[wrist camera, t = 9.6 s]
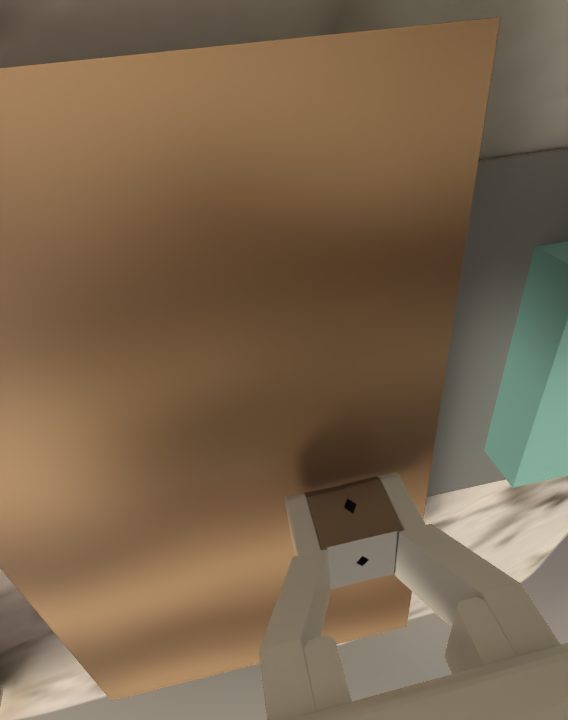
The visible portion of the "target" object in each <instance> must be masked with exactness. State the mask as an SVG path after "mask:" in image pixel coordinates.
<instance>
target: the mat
mask: <svg viewBox="0 0 568 720" xmlns="http://www.w3.org/2000/svg"><path fill="white" fill-rule="evenodd" d="M567 241H568V148H562V149H555V150H547V151H540V152H533V153H526V154H518V155H511V156H504V157H497V158H489V159H482V160H478V166H477V172H476V179H475V185H474V192H473V198H472V205H471V211H470V218H469V224H468V231H467V237H466V244H465V250H464V257H463V263H462V270H461V276H460V283H459V289H458V295H457V302H456V308H455V315H454V321H453V328H452V334H451V341H450V347H449V354H448V360H447V367H446V373H445V380H444V386H443V393H442V399H441V406H440V412H439V419H438V425H437V432H436V438H435V444H434V451H433V457H432V464H431V470H430V477H429V483H428V490H427V496H426V497H428V496H432V495H437V494H441V493H446V492H451V491H455V490H460V489H464V488H469V487H473V486H478V485H482V484H487V483H491V482H496V481H500V480H505V479H506V478H505V477H504V476H503V475H502V473H501V472H500V471H499V469H498V468H497V467H496V466H495V464H494V463H493V462H492V460H491V459H490V458H489V457H488V455H487V454H486V453H485V451H484V448H485V444H486V440H487V436H488V432H489V428H490V424H491V420H492V416H493V412H494V408H495V404H496V400H497V396H498V392H499V388H500V384H501V380H502V376H503V372H504V368H505V364H506V360H507V356H508V352H509V348H510V344H511V340H512V336H513V332H514V328H515V324H516V320H517V316H518V312H519V308H520V304H521V300H522V296H523V292H524V288H525V284H526V280H527V276H528V272H529V268H530V264H531V260H532V256H533V252H534V248H535V247H536V246H542V245H548V244H555V243H561V242H567Z"/></svg>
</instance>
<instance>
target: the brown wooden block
mask: <svg viewBox="0 0 568 720" xmlns="http://www.w3.org/2000/svg"><path fill="white" fill-rule="evenodd" d="M499 23H500V17H496V18H486V19H477V20H467V21H457V22H447V23H438V24H428V25H418V26H408V27H399V28H389V29H379V30H369V31H359V32H350V33H340V34H330V35H320V36H311V37H301V38H291V39H281V40H272V41H262V42H252V43H242V44H233V45H223V46H213V47H203V48H193V49H184V50H174V51H164V52H154V53H145V54H135V55H125V56H115V57H106V58H96V59H86V60H76V61H67V62H57V63H47V64H37V65H27V66H18V67H8V68H0V568H1V569H2V571H3V572H4V573H5V574H6V575H7V577H8V578H9V579H10V580H11V581H12V583H13V584H14V585H15V586H16V587H17V589H18V590H19V591H20V592H21V593H22V595H23V596H24V597H25V598H26V599H27V601H28V602H29V603H30V604H31V605H32V607H33V608H34V609H35V610H36V611H37V612H38V614H39V615H40V616H41V617H42V618H43V620H44V621H45V622H46V623H47V624H48V626H49V627H50V628H51V629H52V630H53V632H54V633H55V634H56V635H57V636H58V638H59V639H60V640H61V641H62V642H63V644H64V645H65V646H66V647H67V648H68V650H69V651H70V652H71V653H72V654H73V656H74V657H75V658H76V659H77V660H78V662H79V663H80V664H81V665H82V666H83V668H84V669H85V670H86V671H87V672H88V674H89V675H90V676H91V677H92V678H93V680H94V681H95V682H96V683H97V684H98V685H99V687H100V688H101V689H102V690H103V691H104V693H105V694H106V695H107V696H108V697H109V699H110V700H111V701H113V700H117V699H121V698H125V697H129V696H133V695H137V694H141V693H145V692H149V691H152V690H156V689H161V688H165V687H169V686H173V685H177V684H180V683H184V682H188V681H192V680H196V679H200V678H204V677H208V676H212V675H216V674H220V673H224V672H228V671H231V670H236V669H240V668H244V667H248V666H252V665H255V664H260V656H259V649H260V646H261V643H262V641H263V638H264V635H265V632H266V630H267V627H268V624H269V621H270V619H271V616H272V613H273V610H274V608H275V605H276V602H277V599H278V597H279V594H280V591H281V588H282V586H283V583H284V580H285V577H286V575H287V572H288V569H289V566H290V564H291V561H292V558H293V557H295V552H294V548H293V544H292V539H291V533H290V528H289V522H288V515H287V509H286V502H285V497H287V496H291V495H296V494H300V493H305V492H310V491H315V490H320V489H325V488H330V487H336V486H340V485H341V484H346V483H350V482H354V481H358V480H362V479H366V478H370V477H375V476H376V477H378V476H382V475H386V474H390V473H394V472H396V473H397V474H398V475H399V476H400V478H401V479H402V481H403V483H404V485H405V487H406V489H407V491H408V493H409V494H410V496H411V498H412V500H413V502H414V504H415V506H416V508H417V509H418V511H419V513H420V515H421V517H422V519H423V516H424V509H425V503H426V496H427V490H428V483H429V477H430V470H431V464H432V457H433V451H434V444H435V438H436V432H437V425H438V419H439V412H440V406H441V399H442V393H443V386H444V380H445V373H446V367H447V360H448V354H449V347H450V341H451V334H452V328H453V321H454V315H455V308H456V302H457V295H458V289H459V283H460V276H461V270H462V263H463V257H464V250H465V244H466V237H467V231H468V224H469V218H470V211H471V205H472V198H473V192H474V185H475V179H476V172H477V166H478V159H479V153H480V147H481V140H482V134H483V127H484V121H485V114H486V108H487V101H488V95H489V88H490V82H491V75H492V69H493V62H494V56H495V49H496V43H497V36H498V30H499ZM411 593H412V591H411V590H410V589H409V588H408V587H407V586H406V585H405V584H403V583H402V582H401V581H400V580H399V579H398V578H397V577H396V576H395V574H393V575H388V576H383V577H379V578H374V579H370V580H365V581H361V582H357V583H354V584H350V585H346V586H343V587H339V588H336V589H332V590H331V595H330V599H329V603H328V607H327V611H326V615H325V620H324V624H323V628H322V632H321V636H320V637H322V636H326V635H327V636H329V637H331V638H332V639H334V640H335V642H336V644H339V643H343V642H347V641H351V640H355V639H359V638H363V637H367V636H371V635H374V634H378V633H382V632H386V631H390V630H394V629H398V628H402V627H406V626H407V619H408V613H409V606H410V600H411Z"/></svg>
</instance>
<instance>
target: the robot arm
mask: <svg viewBox="0 0 568 720" xmlns="http://www.w3.org/2000/svg"><path fill="white" fill-rule="evenodd" d="M285 502H286V509H287V515H288V522H289V528H290V533H291V539H292V544H293V548H294V552H295V557H293V558H292V561H291V564H290V566H289V569H288V572H287V575H286V577H285V580H284V583H283V586H282V588H281V591H280V594H279V597H278V599H277V602H276V605H275V608H274V610H273V613H272V616H271V619H270V621H269V624H268V627H267V630H266V632H265V635H264V638H263V641H262V643H261V646H260V649H259V656H260V664H261V672H262V680H263V688H264V697H265V705H266V713H267V720H568V643H565V644H561V645H560V643H559V642H558V640H557V638H556V637H555V635H554V634H553V632H552V631H551V629H550V628H549V626H548V625H547V623H546V622H545V620H544V618H543V617H542V615H541V614H540V612H539V611H538V609H537V608H536V606H535V605H534V603H533V602H532V600H531V598H530V597H529V595H528V594H527V592H526V591H525V589H524V588H523V586H522V585H521V584H520V583H519V582H517V581H516V580H514V579H513V578H511V577H510V576H508V575H507V574H505V573H504V572H502V571H501V570H499V569H498V568H496V567H495V566H493V565H492V564H490V563H489V562H487V561H486V560H484V559H483V558H481V557H480V556H478V555H477V554H475V553H474V552H472V551H471V550H469V549H468V548H466V547H465V546H464V545H462V544H461V543H459V542H458V541H456V540H455V539H453V538H452V537H450V536H449V535H447V534H446V533H444V532H443V531H441V530H440V529H438V528H437V527H435V526H434V525H432V524H429V525H425V523H424V521H423V519H422V517H421V515H420V513H419V511H418V509H417V508H416V506H415V504H414V502H413V500H412V498H411V496H410V494H409V493H408V491H407V489H406V487H405V485H404V483H403V481H402V479H401V478H400V476H399V475H398V474H397V473H396V472H394V473H390V474H386V475H382V476H378V477H376V476H375V477H370V478H366V479H362V480H358V481H354V482H350V483H346V484H341V485H340V486H336V487H330V488H325V489H320V490H315V491H310V492H305V493H300V494H296V495H291V496H287V497H285ZM393 574H395V576H396V577H397V578H398V579H399V580H400V581H401V582H402V583H403V584H405V585H406V586H407V587H408V588H409V589H410V590H411V591H412V592H413V593H414V594H415V595H417V596H418V597H419V598H420V599H421V600H422V601H423V602H424V603H425V604H426V605H427V606H428V607H430V608H431V609H432V610H433V611H434V612H435V613H436V614H437V615H438V616H439V617H440V618H442V619H443V620H444V621H445V622H446V623H447V624H448V625H449V626H450V627H451V628H452V629H451V633H450V637H449V640H448V644H447V648H446V652H445V655H444V657H445V659H446V662H447V664H448V666H449V668H450V671H451V673H452V674H451V675H448V676H444V677H441V678H437V679H433V680H430V681H426V682H423V683H419V684H415V685H411V686H408V687H404V688H400V689H397V690H393V691H389V692H386V693H382V694H379V695H375V696H371V697H368V698H364V699H361V700H357V701H353V702H352V701H351V697H350V693H349V690H348V686H347V682H346V679H345V675H344V672H343V668H342V664H341V660H340V657H339V653H338V649H337V646H336V642H335V640H334V639H332V638H331V637H329V636H327V635H326V636H322V637H320V636H321V632H322V628H323V624H324V620H325V615H326V611H327V607H328V603H329V599H330V595H331V590H332V589H336V588H339V587H343V586H346V585H350V584H354V583H357V582H361V581H365V580H370V579H374V578H379V577H383V576H388V575H393Z"/></svg>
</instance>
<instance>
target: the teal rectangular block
mask: <svg viewBox="0 0 568 720" xmlns="http://www.w3.org/2000/svg"><path fill="white" fill-rule="evenodd" d="M484 451H485V453H486V454H487V455H488V457H489V458H490V459H491V460H492V462H493V463H494V464H495V466H496V467H497V468H498V469H499V471H500V472H501V473H502V475H503V476H504V477H505V478H506V480H507V481H508V482H509V484H510V485H511V486H512V487H518V486H522V485H527V484H531V483H536V482H540V481H545V480H549V479H553V478H558V477H562V476H567V475H568V241H567V242H561V243H555V244H548V245H542V246H536V247H535V248H534V252H533V256H532V260H531V264H530V268H529V272H528V276H527V280H526V284H525V288H524V292H523V296H522V300H521V304H520V308H519V312H518V316H517V320H516V324H515V328H514V332H513V336H512V340H511V344H510V348H509V352H508V356H507V360H506V364H505V368H504V372H503V376H502V380H501V384H500V388H499V392H498V396H497V400H496V404H495V408H494V412H493V416H492V420H491V424H490V428H489V432H488V436H487V440H486V444H485V448H484Z"/></svg>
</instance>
